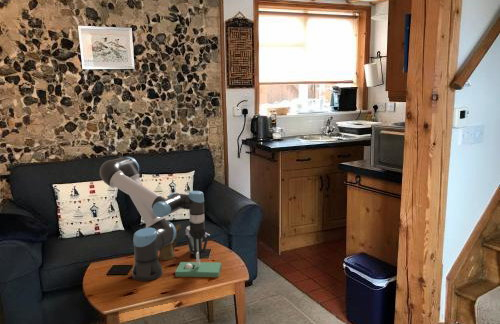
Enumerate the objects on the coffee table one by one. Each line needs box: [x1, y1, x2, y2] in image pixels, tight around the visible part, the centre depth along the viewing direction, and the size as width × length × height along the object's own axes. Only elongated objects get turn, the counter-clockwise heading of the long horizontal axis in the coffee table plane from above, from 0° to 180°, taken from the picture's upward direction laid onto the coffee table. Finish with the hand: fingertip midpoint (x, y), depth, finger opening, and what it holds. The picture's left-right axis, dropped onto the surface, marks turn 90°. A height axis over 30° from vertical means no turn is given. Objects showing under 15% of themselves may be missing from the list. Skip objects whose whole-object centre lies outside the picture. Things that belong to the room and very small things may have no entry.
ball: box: [185, 263, 193, 269], centre depth 214 cm, size 4×4×4 cm
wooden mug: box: [158, 223, 181, 261], centre depth 233 cm, size 9×14×18 cm, turn 123°
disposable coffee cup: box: [185, 225, 204, 254], centre depth 239 cm, size 11×11×15 cm
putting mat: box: [174, 261, 222, 278], centre depth 214 cm, size 22×12×2 cm, turn 86°
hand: (198, 264), depth 214 cm, fingers closed
